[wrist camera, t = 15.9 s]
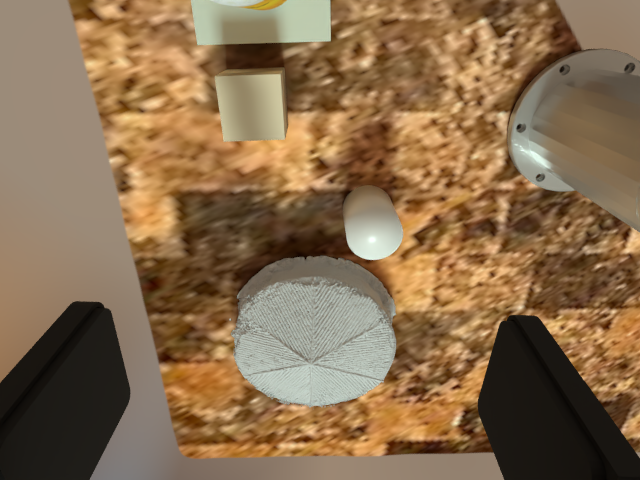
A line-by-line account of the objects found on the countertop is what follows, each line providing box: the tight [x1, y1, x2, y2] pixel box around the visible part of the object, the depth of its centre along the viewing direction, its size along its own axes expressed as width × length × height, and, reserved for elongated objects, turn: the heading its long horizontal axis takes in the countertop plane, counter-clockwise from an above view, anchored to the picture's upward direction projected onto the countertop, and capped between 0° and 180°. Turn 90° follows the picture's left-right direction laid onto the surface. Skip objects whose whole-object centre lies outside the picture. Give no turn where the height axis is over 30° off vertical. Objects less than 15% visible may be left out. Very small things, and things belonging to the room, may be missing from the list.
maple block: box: [215, 67, 288, 142], centre depth 36 cm, size 5×5×5 cm
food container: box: [229, 255, 396, 407], centre depth 47 cm, size 20×20×7 cm
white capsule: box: [343, 185, 403, 260], centre depth 40 cm, size 5×5×6 cm
